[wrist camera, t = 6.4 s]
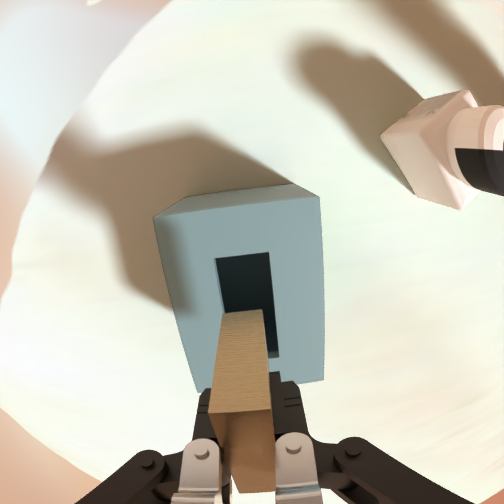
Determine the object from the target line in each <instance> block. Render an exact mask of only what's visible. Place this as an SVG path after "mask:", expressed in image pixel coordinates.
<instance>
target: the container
mask: <svg viewBox="0 0 504 504" xmlns="http://www.w3.org/2000/svg"><path fill="white" fill-rule="evenodd" d="M380 139H381V140H382V142H383V143H384V145H385V146H386V148H387V149H388V151H389V152H390V154H391V155H392V157H393V158H394V160H395V161H396V163H397V165H398V166H399V168H400V169H401V171H402V173H403V174H404V176H405V177H406V179H407V181H408V182H409V184H410V186H411V188H412V189H413V191H414V193H415V195H416V196H417V197H418V198H422V199H425V200H428V201H432V202H435V203H438V204H441V205H445V206H448V207H451V208H454V209H457V210H463V209H464V208H465V207H466V206H467V205H468V204H469V203H470V201H471V200H472V199H473V198H474V197H475V196H476V195H477V194H478V193H479V192H480V191H485V192H489V193H493V194H497V195H501V196H504V106H501V105H490V106H481V107H478V105H477V103H476V101H475V99H474V97H473V96H472V94H471V92H470V91H469V90H467V89H466V90H461V91H457V92H452V93H448V94H444V95H439V96H435V97H431V98H427V99H424V100H423V101H422V102H420V103H419V104H418V105H416V106H415V107H414V108H413V109H411V110H410V111H409V112H408V113H406V114H405V115H404V116H403V117H401V118H400V119H399V120H398V121H396V122H395V123H394V124H393V125H391V126H390V127H389V128H388V129H386V130H385V131H384V132H383V133H381V135H380Z"/></svg>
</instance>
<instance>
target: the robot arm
mask: <svg viewBox="0 0 504 504" xmlns="http://www.w3.org/2000/svg"><path fill="white" fill-rule="evenodd" d="M269 377H270V388H271V399H272V410H273V422H274V433H275V441H276V443H275V473H276V492H275V501H276V504H323V500H322V493H321V488H325V489H331V490H332V491H333V492H334V493H335V494H337V495H338V496H339V497H340V498H342V499H343V500H344V501H345V502H347V503H348V504H474V503H472V502H470V501H468V500H466V499H464V498H462V497H460V496H458V495H456V494H454V493H452V492H451V491H449V490H447V489H445V488H443V487H441V486H440V485H438V484H436V483H434V482H432V481H431V480H429V479H427V478H425V477H424V476H422V475H420V474H419V473H417V472H415V471H414V470H412V469H410V468H409V467H407V466H405V465H404V464H402V463H400V462H399V461H397V460H396V459H394V458H393V457H391V456H389V455H388V454H386V453H385V452H383V451H382V450H380V449H379V448H377V447H376V446H374V445H372V444H371V443H370V442H368V441H367V440H365V439H363V438H360V437H349V438H346V439H343V440H342V441H340V442H339V443H338V444H330V443H322V442H319V441H317V440H315V439H313V438H312V437H311V436H310V434H309V432H308V428H307V423H306V418H305V413H304V409H303V404H302V399H301V394H300V389H299V387H298V386H297V385H296V384H295V382H294V381H285V382H281V376H280V371H275V372H269ZM210 395H211V388H205V390H204V391H203V392H202V394H201V395H200V397H199V403H198V409H197V415H196V421H195V426H194V432H193V438H192V441H191V442H190V443H188V444H187V445H186V447H185V449H184V450H183V451H181V452H178V453H175V454H170V455H165V456H162V455H161V454H160V453H159V452H157V451H154V450H144V451H141V452H139V453H137V454H136V455H135V456H133V457H132V458H131V459H130V460H129V461H128V462H126V463H125V464H124V465H123V466H122V467H120V468H119V469H118V470H117V471H116V472H114V473H113V474H112V475H111V476H110V477H108V478H107V479H106V480H105V481H103V482H102V483H101V484H100V485H99V486H97V487H96V488H95V489H93V490H92V491H91V492H89V493H88V494H87V495H86V496H84V497H83V498H82V499H80V500H79V501H78V502H76V503H75V504H232V480H231V469H230V467H229V464H228V461H227V459H226V456H225V454H224V453H223V452H222V450H221V447H220V445H219V442H218V439H217V437H216V434H215V431H214V429H213V426H212V423H211V420H210V417H209V415H208V409H209V402H210Z"/></svg>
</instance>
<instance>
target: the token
mask: <svg viewBox="0 0 504 504" xmlns="http://www.w3.org/2000/svg"><path fill="white" fill-rule="evenodd" d="M269 372H270V369H269V360H268V352H267V344H266V336H265V328H264V319H263V311H262V309H259V310H250V311H241V312H231V313H223V314H222V320H221V327H220V333H219V340H218V347H217V353H216V360H215V367H214V374H213V381H212V388H211V395H210V402H209V409H208V415H209V417H210V420H211V423H212V426H213V429H214V431H215V434H216V437H217V439H218V442H219V445H220V447H221V450H222V452H223V453H224V454H225V456H226V459H227V461H228V464H229V467H230V469H231V475H232V477H233V480H234V482H235V484H236V487H237V489H238V491H239V493H259V492H272V491H276V473H275V443H276V441H275V433H274V422H273V410H272V399H271V388H270V377H269Z"/></svg>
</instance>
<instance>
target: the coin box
mask: <svg viewBox="0 0 504 504" xmlns="http://www.w3.org/2000/svg"><path fill="white" fill-rule="evenodd" d="M153 222H154V227H155V232H156V237H157V242H158V247H159V252H160V256H161V261H162V266H163V270H164V274H165V279H166V283H167V287H168V291H169V295H170V299H171V303H172V307H173V311H174V315H175V319H176V323H177V326H178V330H179V333H180V337H181V341H182V344H183V348H184V351H185V354H186V358H187V361H188V364H189V368H190V371H191V374H192V377H193V380H194V383H195V386H196V389H197V392H198V393H202V392H203V391H204V390H205V388H212V381H213V374H214V367H215V360H216V353H217V347H218V340H219V333H220V327H221V320H222V314H223V313H231V312H241V311H250V310H259V309H262V311H263V319H264V328H265V336H266V344H267V352H268V360H269V369H270V372H275V371H280V376H281V382H285V381H294V382H295V384H303V383H309V382H316V381H322V380H324V344H325V313H324V269H323V245H322V227H321V212H320V198H319V196H317V195H315V194H313V193H311V192H309V191H308V190H306V189H304V188H302V187H300V186H298V185H296V184H284V185H274V186H265V187H256V188H248V189H240V190H232V191H224V192H217V193H210V194H203V195H196V196H189V197H185V198H183V199H182V200H180V201H178V202H177V203H175V204H173V205H172V206H170V207H169V208H167V209H166V210H164V211H162V212H161V213H159V214H158V215H156V216H155V217H153Z"/></svg>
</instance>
